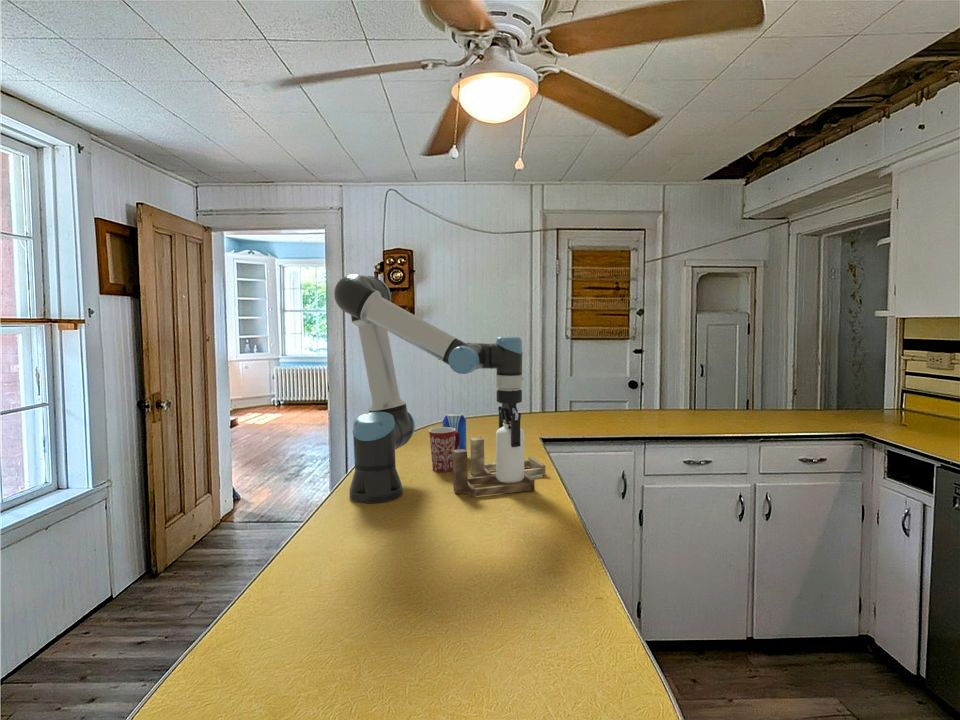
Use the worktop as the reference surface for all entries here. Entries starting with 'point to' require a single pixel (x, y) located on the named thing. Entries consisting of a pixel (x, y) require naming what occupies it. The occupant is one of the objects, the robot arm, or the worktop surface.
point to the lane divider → (536, 476)
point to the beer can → (457, 426)
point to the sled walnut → (482, 479)
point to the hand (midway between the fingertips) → (509, 466)
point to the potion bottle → (509, 456)
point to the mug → (443, 447)
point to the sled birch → (483, 469)
